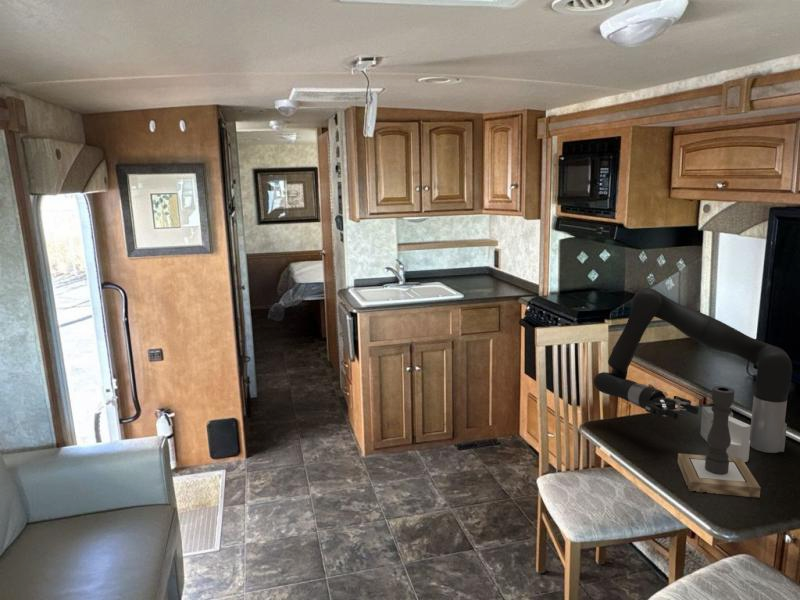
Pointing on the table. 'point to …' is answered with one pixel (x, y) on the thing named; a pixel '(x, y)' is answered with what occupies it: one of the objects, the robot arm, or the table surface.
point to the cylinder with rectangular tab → (739, 439)
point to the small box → (707, 421)
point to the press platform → (703, 473)
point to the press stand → (718, 486)
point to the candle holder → (719, 431)
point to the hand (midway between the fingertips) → (687, 413)
